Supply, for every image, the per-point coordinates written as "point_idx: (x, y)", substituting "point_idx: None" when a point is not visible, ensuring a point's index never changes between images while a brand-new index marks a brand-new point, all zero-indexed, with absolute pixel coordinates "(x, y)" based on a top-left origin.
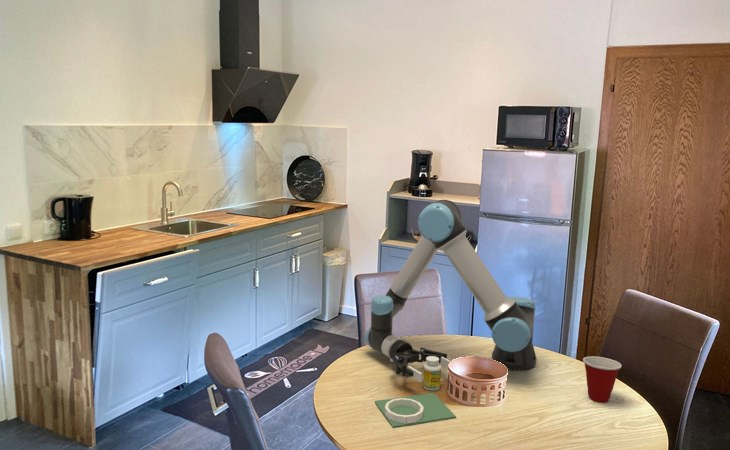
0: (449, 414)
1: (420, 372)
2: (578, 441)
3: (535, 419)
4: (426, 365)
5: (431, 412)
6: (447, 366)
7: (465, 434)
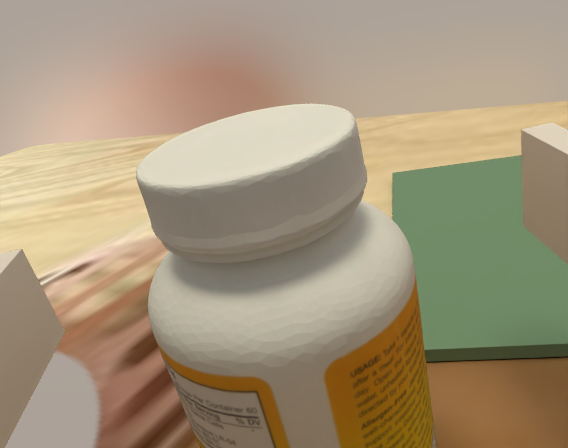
0: (417, 179)
1: (540, 137)
2: (150, 138)
3: (129, 182)
4: (374, 226)
5: (513, 188)
6: (2, 394)
7: (415, 131)
